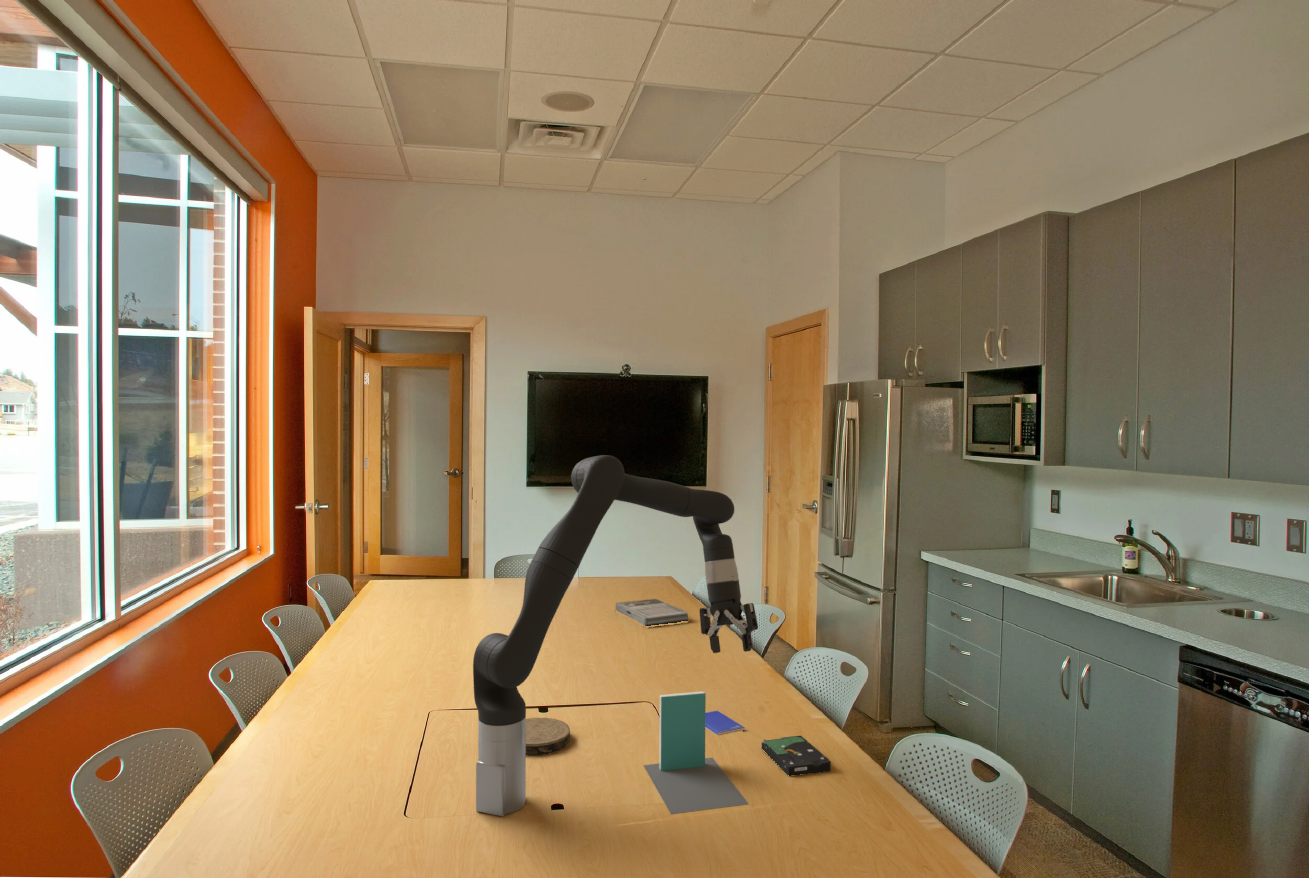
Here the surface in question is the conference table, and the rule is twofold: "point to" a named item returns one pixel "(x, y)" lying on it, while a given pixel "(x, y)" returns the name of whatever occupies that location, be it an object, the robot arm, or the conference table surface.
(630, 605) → the hard drive
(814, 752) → the disk drive
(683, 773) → the mat
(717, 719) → the hard drive
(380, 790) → the conference table surface
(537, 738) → the brown round disc
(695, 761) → the tile
